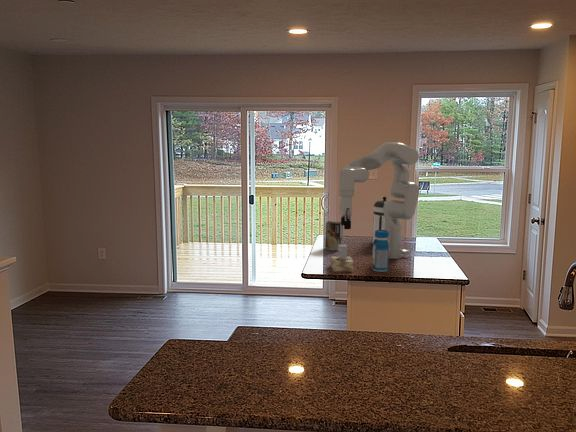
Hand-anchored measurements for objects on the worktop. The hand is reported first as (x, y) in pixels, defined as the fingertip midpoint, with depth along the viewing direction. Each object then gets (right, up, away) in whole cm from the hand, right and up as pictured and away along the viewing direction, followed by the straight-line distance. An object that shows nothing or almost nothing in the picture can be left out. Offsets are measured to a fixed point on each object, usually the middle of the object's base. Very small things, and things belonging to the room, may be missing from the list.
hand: (345, 227), depth 255 cm
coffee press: (+28, -12, +58) cm, 65 cm away
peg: (-2, -21, +1) cm, 21 cm away
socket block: (-2, -21, +1) cm, 21 cm away
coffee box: (-2, -14, +43) cm, 46 cm away
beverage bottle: (+17, -22, 0) cm, 28 cm away
